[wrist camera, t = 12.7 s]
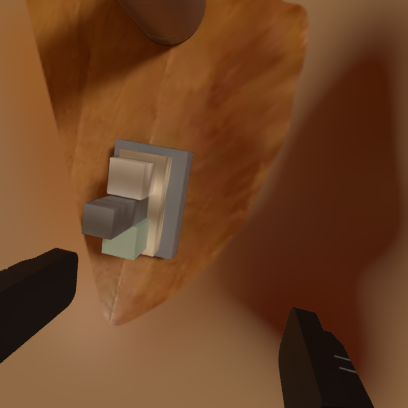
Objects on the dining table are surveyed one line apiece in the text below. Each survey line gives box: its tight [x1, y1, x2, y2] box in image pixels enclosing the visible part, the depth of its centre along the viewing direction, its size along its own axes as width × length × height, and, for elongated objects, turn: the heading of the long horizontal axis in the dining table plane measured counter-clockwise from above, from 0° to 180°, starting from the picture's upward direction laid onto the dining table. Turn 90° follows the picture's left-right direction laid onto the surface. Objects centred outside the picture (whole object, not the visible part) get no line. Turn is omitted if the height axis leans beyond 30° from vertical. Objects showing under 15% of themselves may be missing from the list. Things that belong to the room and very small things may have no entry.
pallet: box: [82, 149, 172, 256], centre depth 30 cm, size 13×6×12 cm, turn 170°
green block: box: [102, 218, 150, 260], centre depth 32 cm, size 4×4×4 cm
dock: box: [110, 139, 193, 260], centre depth 37 cm, size 15×10×3 cm, turn 170°
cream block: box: [107, 157, 157, 200], centre depth 31 cm, size 4×4×4 cm
